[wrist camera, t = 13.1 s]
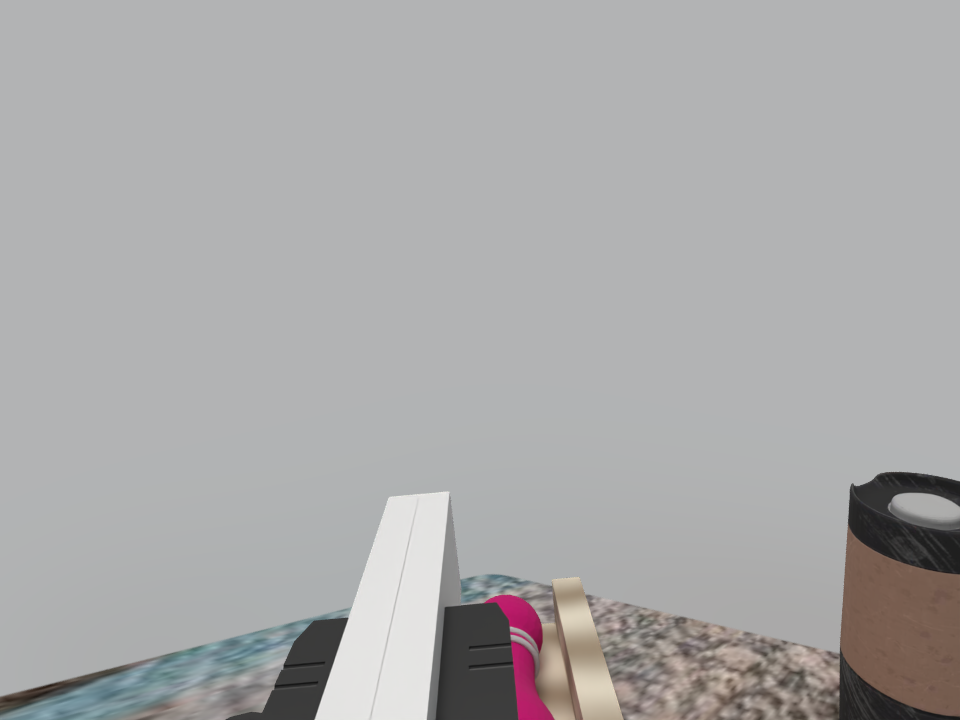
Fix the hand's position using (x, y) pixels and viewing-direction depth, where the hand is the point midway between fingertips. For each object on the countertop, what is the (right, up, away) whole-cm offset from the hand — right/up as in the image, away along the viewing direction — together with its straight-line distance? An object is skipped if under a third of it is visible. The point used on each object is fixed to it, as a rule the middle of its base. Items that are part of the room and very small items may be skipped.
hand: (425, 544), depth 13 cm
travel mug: (+29, -23, +22) cm, 44 cm away
